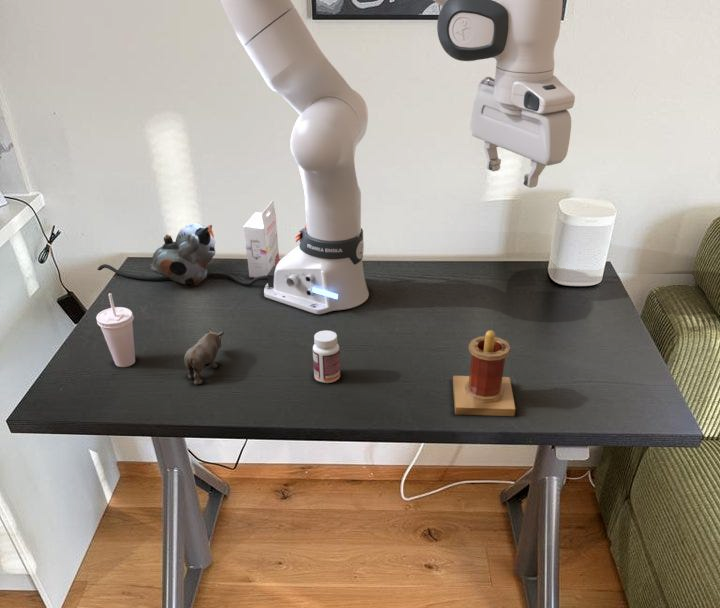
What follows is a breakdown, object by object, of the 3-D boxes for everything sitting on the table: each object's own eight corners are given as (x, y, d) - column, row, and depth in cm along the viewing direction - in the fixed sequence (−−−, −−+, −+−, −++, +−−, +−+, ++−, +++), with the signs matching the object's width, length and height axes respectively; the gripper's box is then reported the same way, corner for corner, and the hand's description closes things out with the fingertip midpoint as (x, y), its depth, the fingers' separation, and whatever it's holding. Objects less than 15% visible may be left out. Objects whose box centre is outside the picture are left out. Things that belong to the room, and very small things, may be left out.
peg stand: (454, 414, 129) (461, 345, 120) (452, 382, 137) (458, 315, 128) (514, 416, 129) (525, 347, 120) (508, 384, 136) (518, 316, 128)
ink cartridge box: (259, 261, 176) (253, 197, 167) (280, 263, 175) (275, 199, 166) (247, 277, 170) (241, 212, 160) (269, 279, 169) (263, 214, 159)
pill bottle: (343, 372, 139) (343, 331, 134) (334, 385, 136) (333, 344, 131) (319, 367, 141) (318, 327, 135) (310, 381, 137) (307, 339, 132)
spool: (460, 397, 130) (464, 351, 125) (471, 378, 135) (476, 333, 129) (497, 405, 128) (504, 359, 123) (507, 386, 133) (514, 340, 127)
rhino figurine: (233, 348, 146) (230, 320, 142) (202, 386, 136) (198, 357, 132) (214, 345, 147) (210, 317, 143) (182, 383, 137) (176, 353, 133)
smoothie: (112, 374, 139) (94, 304, 130) (103, 358, 143) (86, 289, 134) (146, 365, 141) (131, 296, 132) (137, 349, 146) (122, 281, 137)
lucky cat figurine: (160, 262, 176) (181, 204, 170) (209, 285, 177) (230, 228, 172) (139, 271, 162) (160, 209, 157) (191, 296, 163) (214, 235, 158)
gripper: (465, 76, 125) (458, 164, 133) (551, 104, 111) (537, 199, 120) (495, 72, 127) (486, 158, 136) (583, 98, 114) (567, 192, 123)
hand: (511, 177), depth 128 cm, fingers open, 8 cm apart
